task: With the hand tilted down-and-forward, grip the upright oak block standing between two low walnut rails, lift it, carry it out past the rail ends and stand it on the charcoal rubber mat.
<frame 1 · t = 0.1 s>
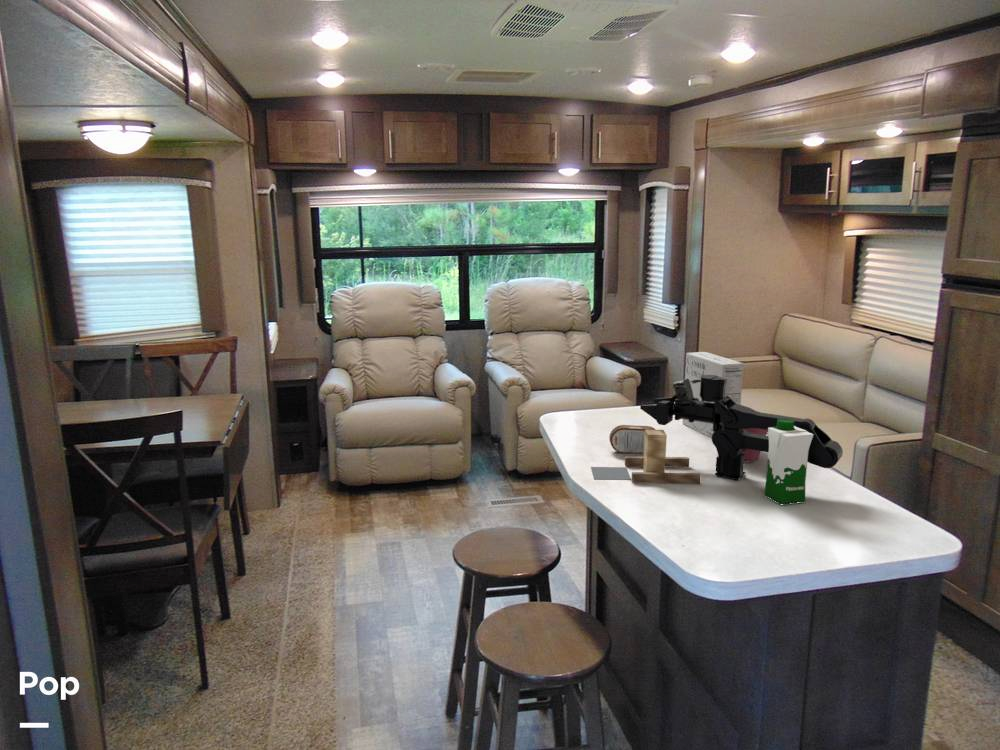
hand: (647, 403, 214), 17 cm above the table, tool horizontal, fingers open, 9 cm apart
plinth rails: (660, 473, 204), on the table
cereal box: (709, 432, 245), on the table
milk carton: (784, 500, 186), on the table
tin: (634, 453, 222), on the table
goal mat: (610, 473, 204), on the table
plant pot: (742, 457, 219), on the table
oak block: (653, 473, 204), on the table
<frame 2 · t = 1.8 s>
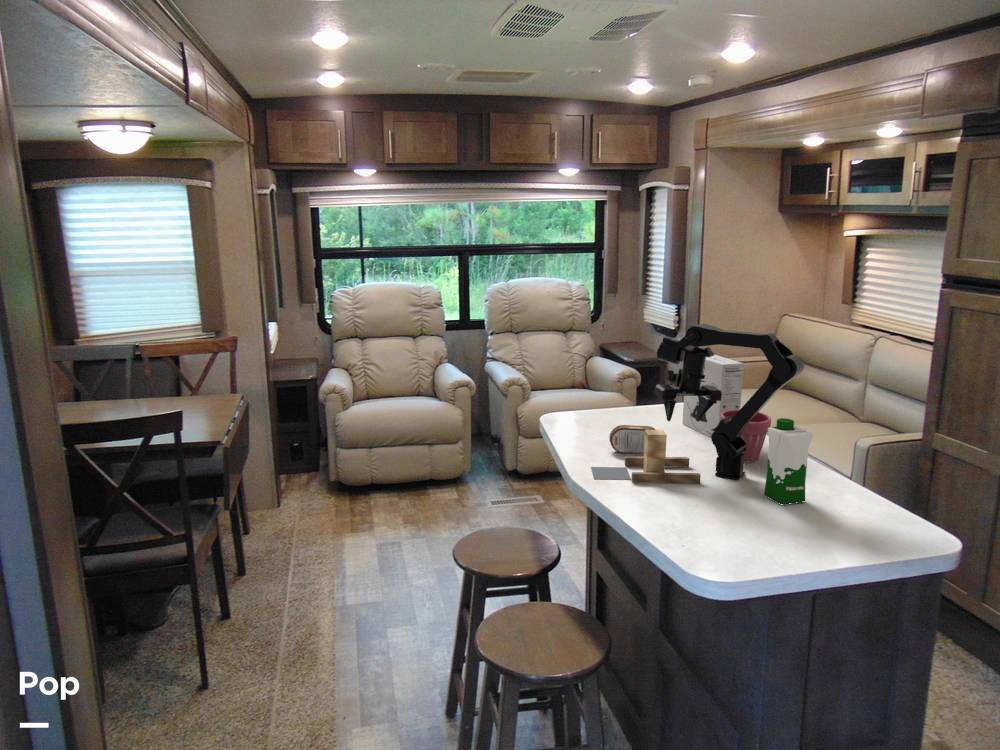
hand: (682, 421, 209), 13 cm above the table, tool pointing down, fingers open, 9 cm apart
nothing on the table moved.
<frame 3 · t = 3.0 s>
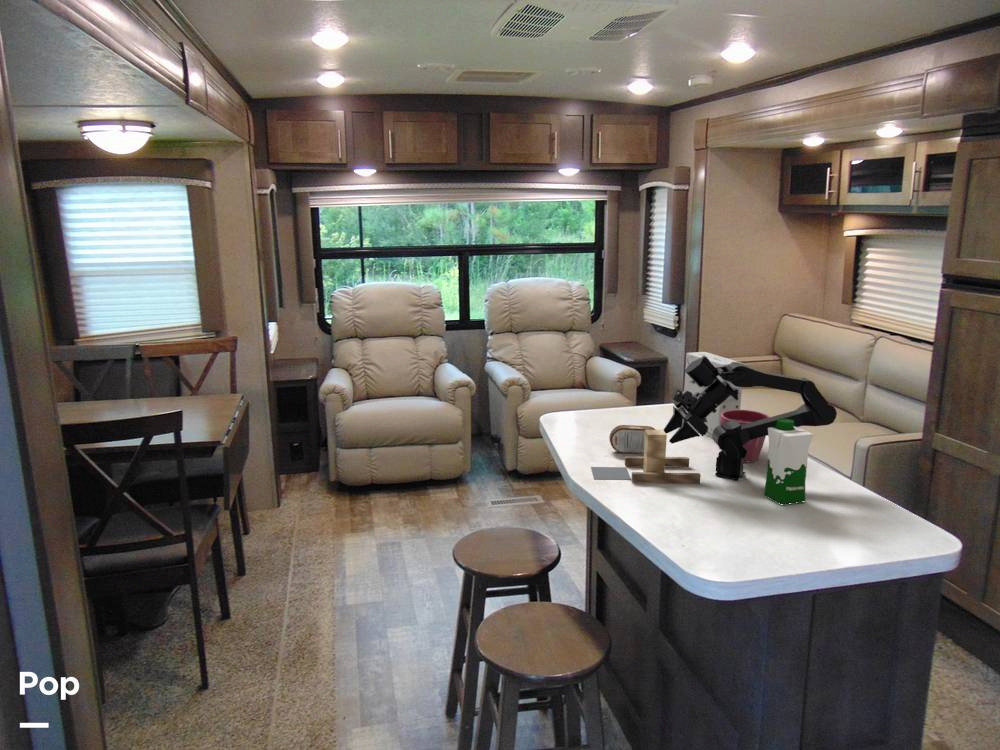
hand: (667, 437, 202), 11 cm above the table, tool tilted 45°, fingers open, 9 cm apart
nothing on the table moved.
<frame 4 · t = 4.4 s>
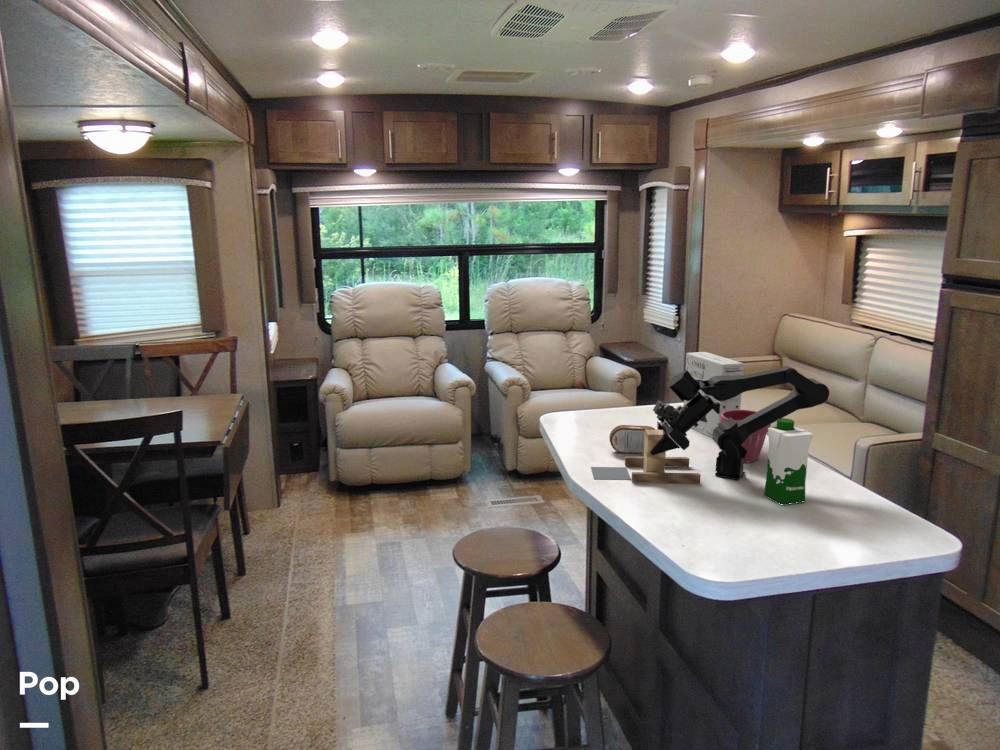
hand: (649, 450, 203), 7 cm above the table, tool tilted 45°, fingers closed on oak block, 5 cm apart
oak block: (653, 473, 204), on the table, touching gripper
everything else where it was.
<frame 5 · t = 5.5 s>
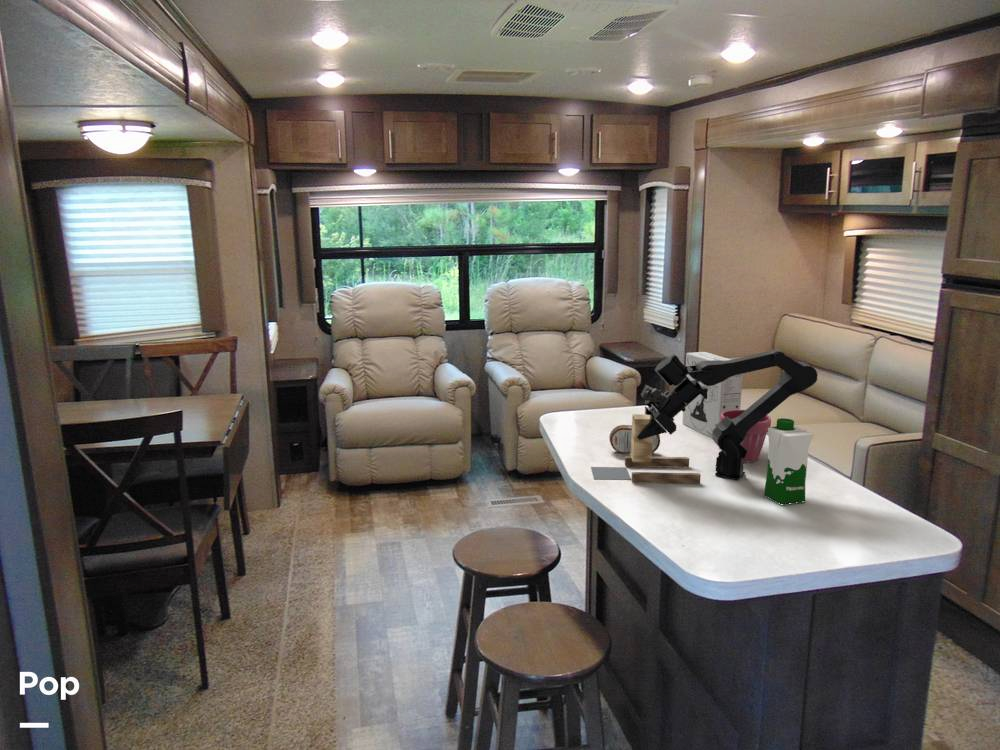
hand: (636, 435, 202), 11 cm above the table, tool tilted 45°, fingers closed on oak block, 5 cm apart
oak block: (640, 458, 203), point 4 cm above the table, touching gripper
everything else where it was.
when the fingers open (7 cm above the table, at t = 7.1 s): oak block stays where it is, resting on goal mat.
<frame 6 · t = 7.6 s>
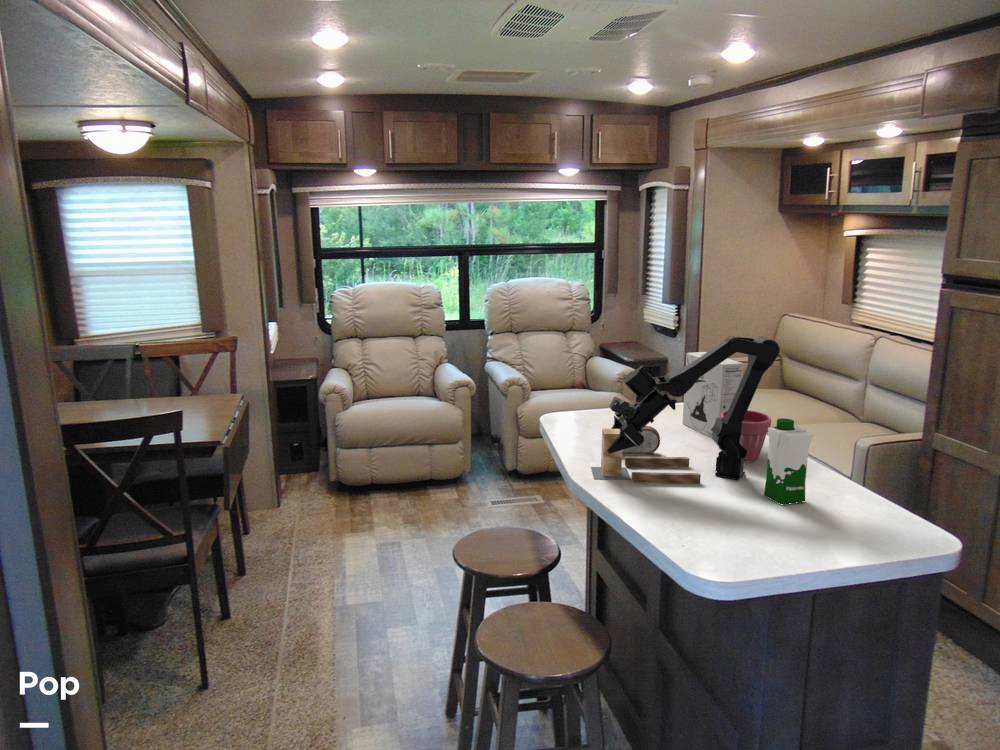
hand: (606, 447, 203), 8 cm above the table, tool tilted 45°, fingers open, 9 cm apart
oak block: (610, 473, 204), resting on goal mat
everything else where it was.
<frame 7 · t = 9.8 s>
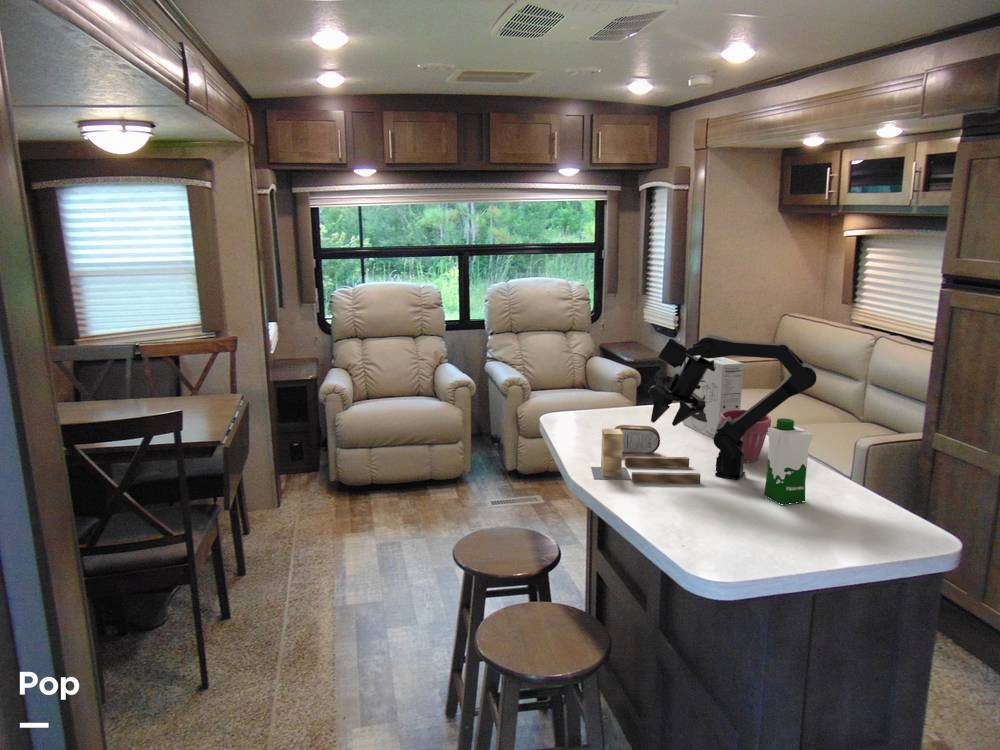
hand: (662, 423, 207), 13 cm above the table, tool tilted 25°, fingers open, 9 cm apart
nothing on the table moved.
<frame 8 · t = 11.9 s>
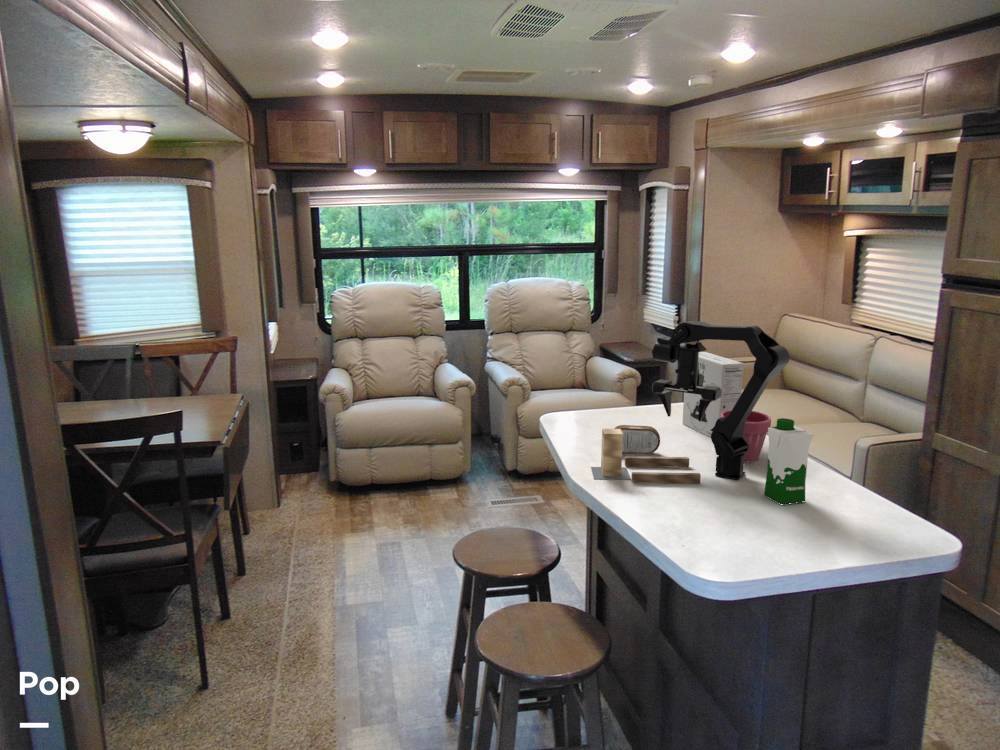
hand: (684, 418, 211), 13 cm above the table, tool pointing down, fingers open, 9 cm apart
nothing on the table moved.
at the end: oak block inside the target area (0.1 cm from its centre), resting on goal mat; oak block tilted 0°; the gripper is holding nothing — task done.
